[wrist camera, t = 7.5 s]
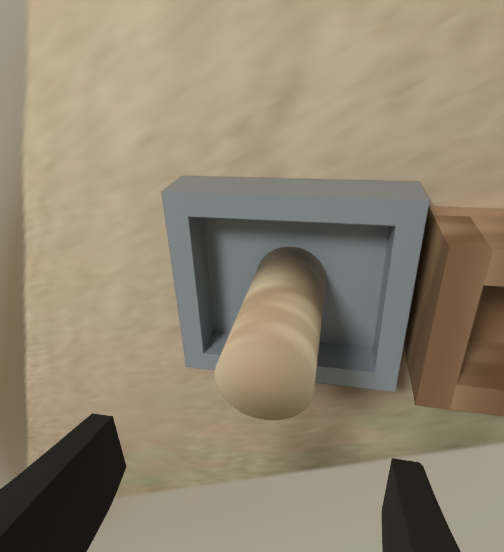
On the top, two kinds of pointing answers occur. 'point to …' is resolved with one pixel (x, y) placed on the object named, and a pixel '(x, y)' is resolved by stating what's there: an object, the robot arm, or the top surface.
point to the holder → (459, 312)
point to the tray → (309, 236)
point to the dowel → (275, 338)
